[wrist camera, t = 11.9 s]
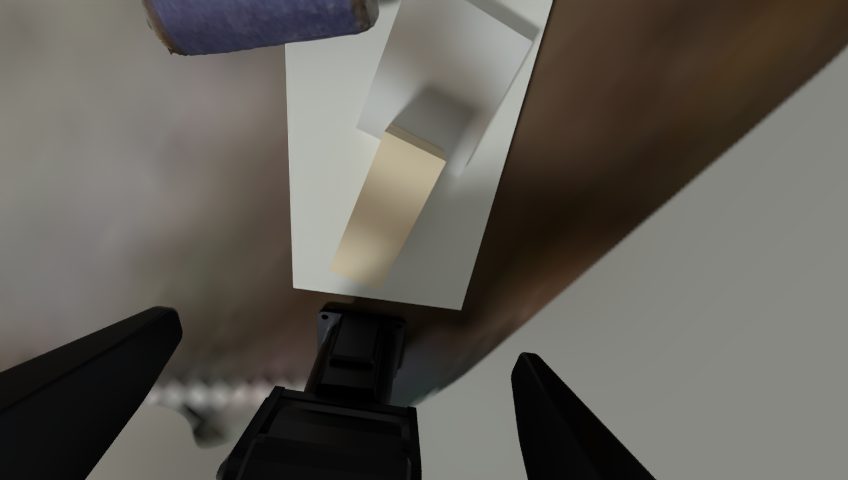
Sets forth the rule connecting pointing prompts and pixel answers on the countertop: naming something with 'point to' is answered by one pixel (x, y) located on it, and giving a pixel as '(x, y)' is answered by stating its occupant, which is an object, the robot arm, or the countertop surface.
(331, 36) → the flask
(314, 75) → the rest mat
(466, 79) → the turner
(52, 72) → the countertop surface
